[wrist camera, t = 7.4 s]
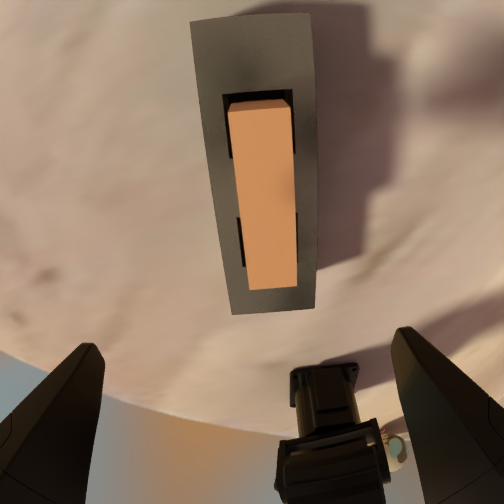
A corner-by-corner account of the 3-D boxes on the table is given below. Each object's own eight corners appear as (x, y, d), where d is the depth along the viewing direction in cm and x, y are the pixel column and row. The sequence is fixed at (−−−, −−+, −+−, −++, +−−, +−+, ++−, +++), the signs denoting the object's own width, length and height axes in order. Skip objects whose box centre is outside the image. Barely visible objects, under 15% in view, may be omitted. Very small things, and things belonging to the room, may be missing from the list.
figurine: (411, 425, 38) (421, 463, 33) (380, 443, 41) (388, 479, 35) (381, 418, 36) (392, 462, 30) (347, 437, 38) (355, 479, 33)
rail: (306, 274, 22) (314, 308, 19) (233, 280, 22) (231, 314, 20) (298, 21, 13) (310, 12, 11) (200, 29, 14) (189, 21, 11)
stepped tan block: (285, 226, 20) (297, 286, 15) (248, 230, 20) (249, 290, 15) (276, 92, 15) (290, 107, 11) (233, 96, 15) (227, 112, 11)
